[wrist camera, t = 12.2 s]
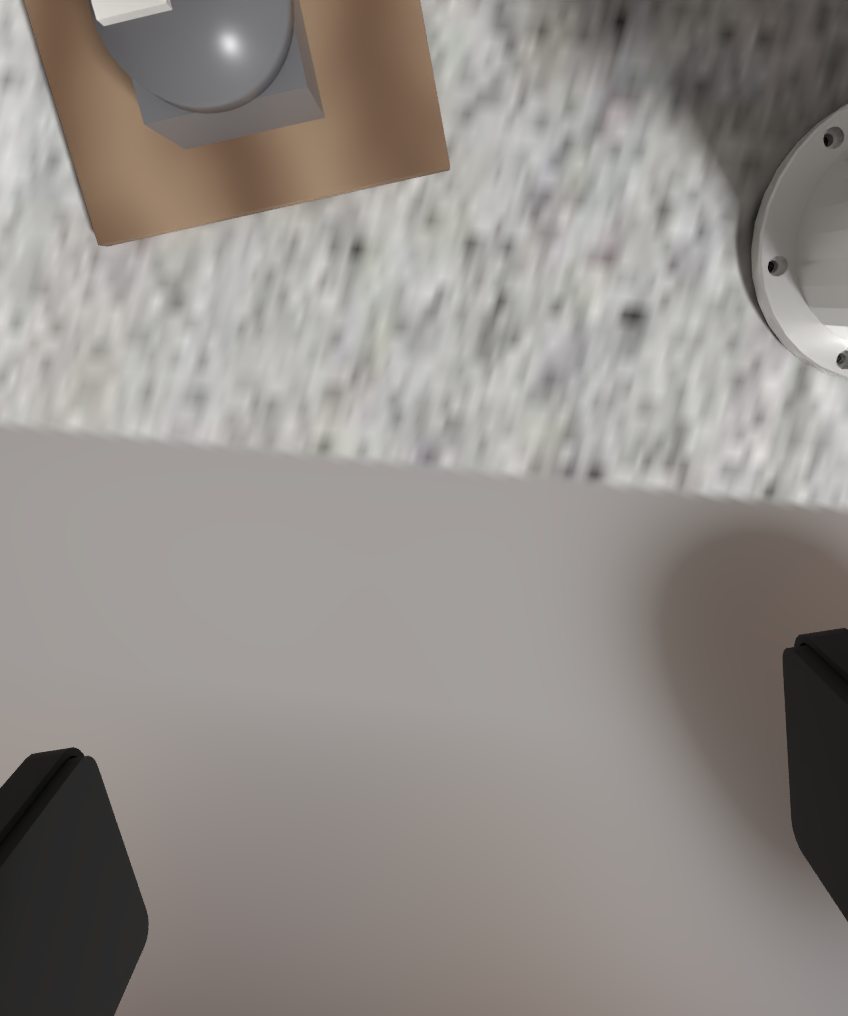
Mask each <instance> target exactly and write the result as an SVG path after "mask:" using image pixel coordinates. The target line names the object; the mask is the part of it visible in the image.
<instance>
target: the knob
mask: <svg viewBox="0 0 848 1016" xmlns="http://www.w3.org/2000/svg"><path fill="white" fill-rule="evenodd" d="M88 1H89V5H90V9H91V14H92V17H93V20H94V23H95V26H96V29H97V31H98V33H99V35H100V37H101V39H102V41H103V43H104V45H105V47H106V48H107V50H108V51H109V53H110V55H111V56H112V57H113V58H114V60H115V61H116V62H117V63H118V65H119V66H120V67H121V68H122V69H123V70H124V71H125V72H126V73H127V74H128V75H129V76H130V77H131V79H132V82H133V86H134V90H135V93H136V97H137V100H138V104H139V108H140V111H141V115H142V119H143V122H144V125H146V126H147V127H149V128H151V129H152V130H154V131H156V132H157V133H159V134H161V135H162V136H164V137H166V138H167V139H169V140H171V141H172V142H174V143H176V144H177V145H179V146H180V147H182V148H184V149H185V150H186V149H190V148H194V147H199V146H203V145H208V144H212V143H216V142H221V141H225V140H229V139H234V138H238V137H243V136H247V135H251V134H256V133H260V132H264V131H269V130H273V129H277V128H282V127H286V126H291V125H295V124H299V123H304V122H308V121H312V120H317V119H321V118H325V115H324V111H323V106H322V102H321V97H320V93H319V88H318V83H317V79H316V74H315V70H314V65H313V60H312V56H311V51H310V47H309V42H308V38H307V33H306V28H305V24H304V19H303V15H302V10H301V6H300V1H299V0H88Z"/></svg>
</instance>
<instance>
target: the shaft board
mask: <svg viewBox="0 0 848 1016" xmlns="http://www.w3.org/2000/svg"><path fill="white" fill-rule="evenodd" d="M299 1H300V6H301V10H302V15H303V19H304V24H305V28H306V33H307V38H308V42H309V47H310V51H311V56H312V60H313V65H314V70H315V74H316V79H317V83H318V88H319V93H320V97H321V102H322V106H323V111H324V115H325V118H321V119H317V120H312V121H308V122H304V123H299V124H295V125H291V126H286V127H282V128H277V129H273V130H269V131H264V132H260V133H256V134H251V135H247V136H243V137H238V138H234V139H229V140H225V141H221V142H216V143H212V144H208V145H203V146H199V147H194V148H190V149H186V150H185V149H184V148H182V147H180V146H179V145H177V144H176V143H174V142H172V141H171V140H169V139H167V138H166V137H164V136H162V135H161V134H159V133H157V132H156V131H154V130H152V129H151V128H149V127H147V126H146V125H144V122H143V119H142V115H141V111H140V108H139V104H138V100H137V97H136V93H135V90H134V86H133V82H132V79H131V77H130V76H129V75H128V74H127V73H126V72H125V71H124V70H123V69H122V68H121V67H120V66H119V65H118V63H117V62H116V61H115V60H114V58H113V57H112V56H111V55H110V53H109V51H108V50H107V48H106V47H105V45H104V43H103V41H102V39H101V37H100V35H99V33H98V31H97V29H96V26H95V23H94V20H93V17H92V14H91V9H90V5H89V1H88V0H24V3H25V6H26V9H27V13H28V16H29V19H30V23H31V26H32V29H33V32H34V36H35V39H36V42H37V46H38V49H39V52H40V55H41V59H42V62H43V65H44V69H45V72H46V75H47V78H48V82H49V85H50V88H51V92H52V95H53V98H54V101H55V105H56V108H57V111H58V115H59V118H60V121H61V124H62V128H63V131H64V134H65V138H66V141H67V144H68V147H69V151H70V154H71V157H72V161H73V164H74V167H75V170H76V174H77V177H78V180H79V184H80V187H81V190H82V193H83V197H84V200H85V203H86V207H87V210H88V213H89V216H90V220H91V223H92V226H93V230H94V233H95V236H96V239H97V243H98V245H101V246H112V245H116V244H121V243H125V242H130V241H134V240H138V239H143V238H147V237H152V236H156V235H161V234H165V233H170V232H174V231H179V230H183V229H188V228H192V227H197V226H201V225H206V224H210V223H215V222H219V221H224V220H228V219H233V218H237V217H242V216H246V215H251V214H255V213H259V212H264V211H268V210H273V209H277V208H282V207H286V206H291V205H295V204H300V203H304V202H309V201H313V200H318V199H322V198H327V197H331V196H336V195H340V194H345V193H349V192H354V191H358V190H363V189H367V188H372V187H376V186H380V185H385V184H389V183H394V182H398V181H403V180H407V179H412V178H416V177H421V176H425V175H430V174H434V173H439V172H443V171H448V170H450V163H449V158H448V152H447V147H446V141H445V136H444V130H443V125H442V119H441V114H440V108H439V102H438V97H437V91H436V86H435V80H434V75H433V69H432V64H431V58H430V53H429V47H428V42H427V36H426V31H425V25H424V20H423V14H422V9H421V3H420V0H299Z"/></svg>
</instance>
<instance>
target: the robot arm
mask: <svg viewBox="0 0 848 1016" xmlns="http://www.w3.org/2000/svg"><path fill="white" fill-rule="evenodd" d="M824 136H826V137H827V138H828V145H827V146H825V144H824V141H823V138H824ZM751 259H752V278H753V283H754V287H755V291H756V296H757V300H758V303H759V306H760V308H761V310H762V312H763V314H764V316H765V319H766V321H767V323H768V325H769V327H770V328H771V329H772V331H773V332H774V333H775V335H776V336H777V337H778V339H779V340H780V341H781V343H782V344H783V345H784V346H785V347H786V348H787V349H788V350H790V351H791V352H792V353H793V354H794V355H795V356H797V357H798V358H799V359H800V360H801V361H803V362H805V363H806V364H808V365H810V366H812V367H814V368H816V369H817V370H819V371H821V372H823V373H827V374H830V375H834V376H837V377H840V378H844V379H848V104H846V105H844V106H842V107H841V108H839V109H838V110H836V111H835V112H833V113H832V114H830V115H829V116H827V117H826V118H824V119H823V120H821V121H820V122H818V123H817V124H816V125H815V126H814V127H813V128H812V129H811V130H810V131H809V132H808V133H807V134H806V135H805V136H804V137H803V138H801V139H800V140H799V141H798V142H797V143H796V145H795V146H794V147H793V149H792V150H791V151H790V152H789V154H788V155H787V156H786V158H785V159H784V160H783V162H782V163H781V164H780V166H779V167H778V169H777V171H776V173H775V174H774V176H773V178H772V180H771V182H770V184H769V186H768V188H767V190H766V192H765V194H764V196H763V199H762V202H761V206H760V209H759V212H758V215H757V218H756V221H755V226H754V233H753V240H752V247H751ZM770 261H771V262H773V264H774V269H773V270H772V272H769V271H768V263H769V262H770ZM839 354H840V356H841V358H840V361H839V362H838V363H836V360H837V356H838V355H839ZM783 677H784V694H785V712H786V731H787V748H788V767H789V784H790V803H791V820H792V827H793V831H794V835H795V838H796V841H797V843H798V845H799V848H800V850H801V851H802V853H803V854H804V856H805V858H806V859H807V861H808V862H809V864H810V865H811V867H812V868H813V870H814V871H815V873H816V874H817V876H818V877H819V879H820V880H821V882H822V883H823V885H824V886H825V888H826V889H827V891H828V892H829V894H830V895H831V897H832V898H833V900H834V902H835V903H836V905H837V906H838V907H839V909H840V910H841V912H842V914H843V915H844V917H845V918H846V920H847V921H848V629H846V628H842V629H834V630H827V631H821V632H815V633H809V634H803V635H799V636H798V637H797V638H796V641H795V644H794V647H792V648H786V649H785V650H784V653H783ZM147 935H148V915H147V911H146V908H145V905H144V902H143V899H142V896H141V893H140V890H139V887H138V884H137V881H136V878H135V875H134V872H133V869H132V866H131V863H130V860H129V857H128V855H127V851H126V848H125V845H124V842H123V840H122V836H121V833H120V831H119V828H118V825H117V822H116V819H115V816H114V813H113V810H112V807H111V804H110V801H109V798H108V795H107V792H106V789H105V786H104V783H103V780H102V777H101V774H100V772H99V768H98V766H97V764H96V761H95V760H94V759H93V758H92V757H90V756H84V754H83V753H82V752H81V751H80V750H79V749H77V748H74V747H73V748H67V749H60V750H54V751H47V752H41V753H35V754H31V755H30V756H29V757H27V758H26V759H25V760H24V762H23V763H22V764H21V765H20V766H19V767H18V768H17V770H16V771H15V772H14V773H13V774H12V775H11V777H10V778H9V779H8V780H7V781H6V782H5V784H4V785H3V786H2V787H1V788H0V1016H114V1014H115V1012H116V1010H117V1007H118V1005H119V1003H120V1001H121V998H122V996H123V994H124V992H125V989H126V987H127V985H128V982H129V980H130V978H131V975H132V973H133V971H134V969H135V966H136V964H137V962H138V960H139V957H140V955H141V953H142V950H143V948H144V946H145V943H146V940H147Z"/></svg>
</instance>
